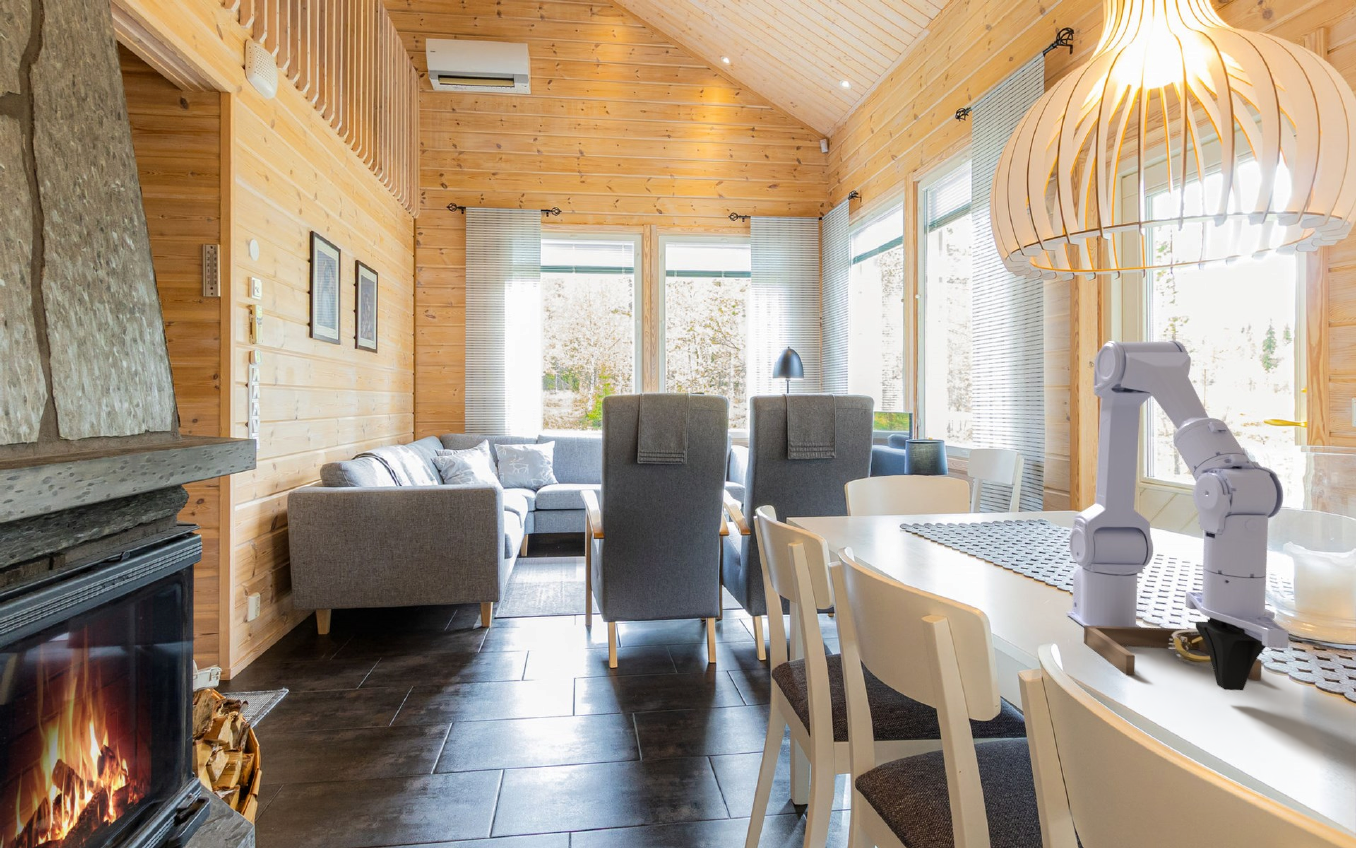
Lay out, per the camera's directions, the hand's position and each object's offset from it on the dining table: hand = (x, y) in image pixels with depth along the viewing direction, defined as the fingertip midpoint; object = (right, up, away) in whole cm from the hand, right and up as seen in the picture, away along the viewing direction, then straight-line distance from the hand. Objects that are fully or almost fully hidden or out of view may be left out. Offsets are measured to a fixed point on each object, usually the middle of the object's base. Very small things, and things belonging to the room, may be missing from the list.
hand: (1230, 687), depth 81 cm
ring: (+8, +1, +8) cm, 11 cm away
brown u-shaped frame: (+1, -1, +13) cm, 13 cm away
